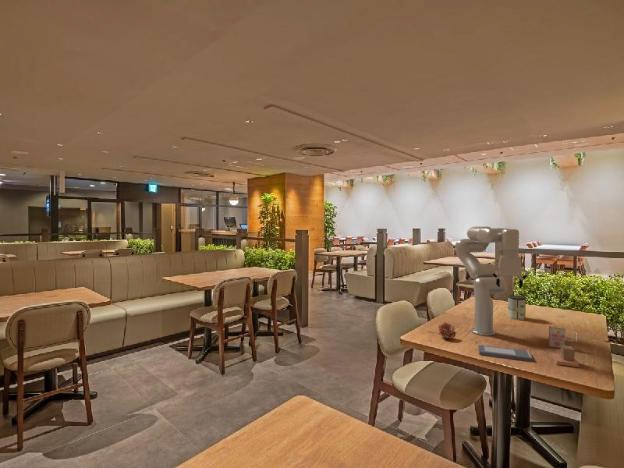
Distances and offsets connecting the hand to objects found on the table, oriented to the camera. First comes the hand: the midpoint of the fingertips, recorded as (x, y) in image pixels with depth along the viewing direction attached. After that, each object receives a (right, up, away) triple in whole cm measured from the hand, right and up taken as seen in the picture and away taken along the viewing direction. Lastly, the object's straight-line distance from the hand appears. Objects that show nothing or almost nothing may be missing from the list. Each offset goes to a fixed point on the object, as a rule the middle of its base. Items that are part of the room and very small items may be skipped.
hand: (509, 287), depth 181 cm
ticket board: (-8, -31, -10) cm, 33 cm away
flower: (-26, -30, +13) cm, 42 cm away
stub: (+15, -31, -19) cm, 39 cm away
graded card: (+42, -30, +19) cm, 55 cm away
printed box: (+25, -31, +1) cm, 39 cm away
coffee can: (+35, -28, +54) cm, 70 cm away
